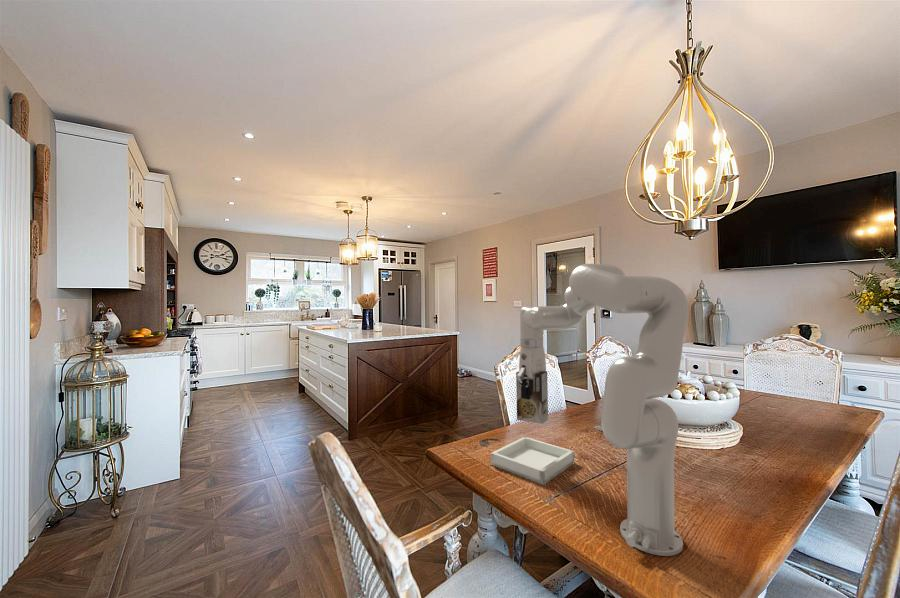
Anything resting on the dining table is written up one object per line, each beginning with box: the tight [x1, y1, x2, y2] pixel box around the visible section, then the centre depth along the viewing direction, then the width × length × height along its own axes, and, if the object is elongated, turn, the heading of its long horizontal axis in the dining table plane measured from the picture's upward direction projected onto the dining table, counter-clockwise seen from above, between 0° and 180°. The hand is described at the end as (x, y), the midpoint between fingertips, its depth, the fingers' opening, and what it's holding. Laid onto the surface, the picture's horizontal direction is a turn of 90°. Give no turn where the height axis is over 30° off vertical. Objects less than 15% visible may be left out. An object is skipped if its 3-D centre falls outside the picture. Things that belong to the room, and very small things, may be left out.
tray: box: [490, 436, 575, 486], centre depth 123 cm, size 20×19×4 cm
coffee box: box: [515, 370, 549, 425], centre depth 123 cm, size 9×6×16 cm
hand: (532, 396), depth 123 cm, fingers closed on coffee box, 7 cm apart
